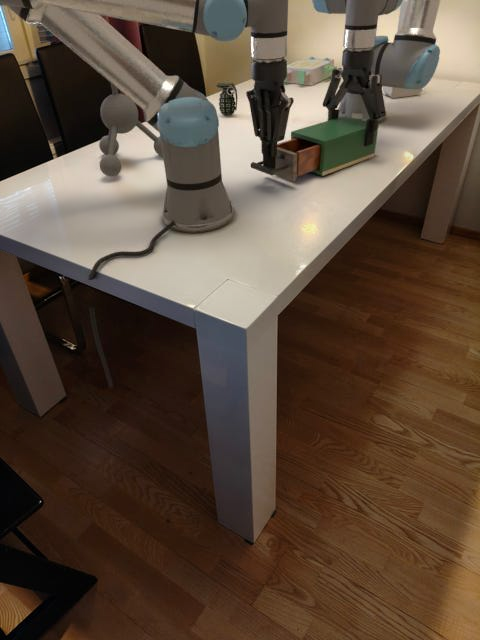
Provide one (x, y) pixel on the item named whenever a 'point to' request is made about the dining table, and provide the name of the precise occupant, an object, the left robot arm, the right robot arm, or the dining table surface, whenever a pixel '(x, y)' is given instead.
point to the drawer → (293, 159)
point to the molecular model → (119, 129)
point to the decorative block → (309, 70)
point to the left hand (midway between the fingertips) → (269, 168)
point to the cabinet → (338, 142)
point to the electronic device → (394, 91)
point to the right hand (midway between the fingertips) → (350, 140)
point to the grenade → (227, 99)
